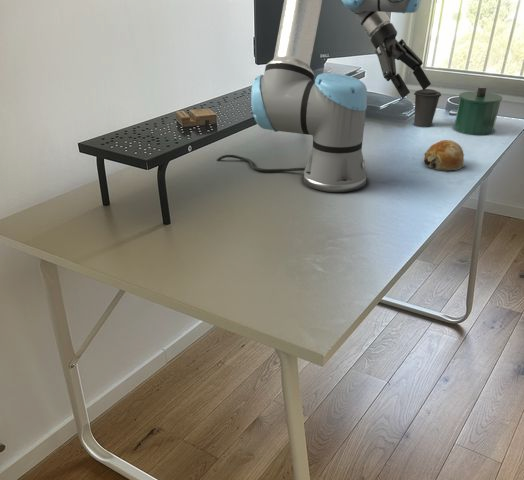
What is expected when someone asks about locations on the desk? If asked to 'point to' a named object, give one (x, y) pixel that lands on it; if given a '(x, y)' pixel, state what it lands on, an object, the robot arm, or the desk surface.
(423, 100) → the coffee cup
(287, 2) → the robot arm
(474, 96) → the pot lid
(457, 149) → the bread roll
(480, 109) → the pot
